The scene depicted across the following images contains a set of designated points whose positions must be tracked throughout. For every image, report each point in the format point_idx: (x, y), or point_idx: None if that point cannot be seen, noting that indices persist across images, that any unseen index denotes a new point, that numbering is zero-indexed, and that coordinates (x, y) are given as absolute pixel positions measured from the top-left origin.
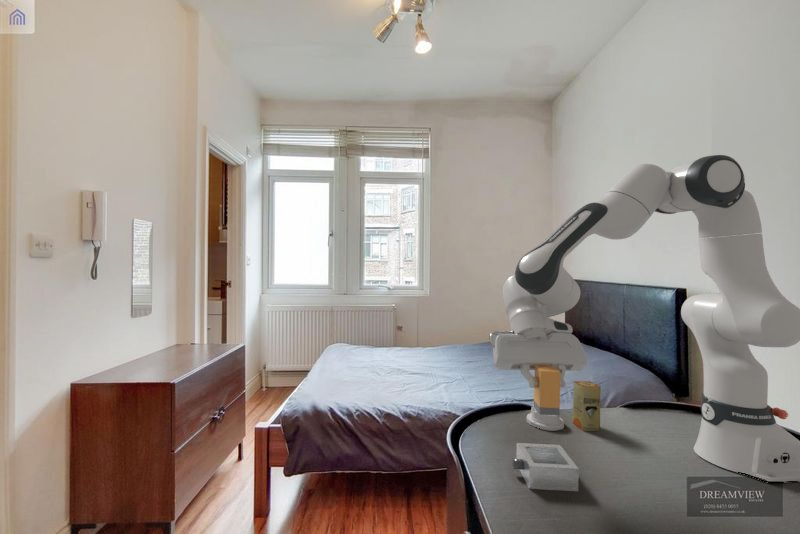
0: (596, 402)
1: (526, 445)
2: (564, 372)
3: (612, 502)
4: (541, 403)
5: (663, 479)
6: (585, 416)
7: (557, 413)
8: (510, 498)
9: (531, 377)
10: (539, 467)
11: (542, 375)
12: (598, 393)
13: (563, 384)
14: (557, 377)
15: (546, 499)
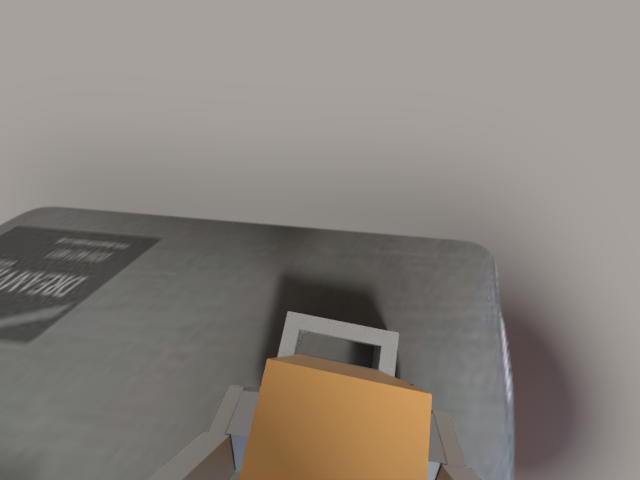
0: None
1: None
2: (167, 469)
3: (253, 280)
4: (378, 371)
5: (88, 337)
6: None
7: (309, 355)
8: (437, 309)
9: (460, 457)
10: (375, 328)
11: (407, 386)
12: None
13: (244, 386)
14: (296, 361)
15: (369, 299)
